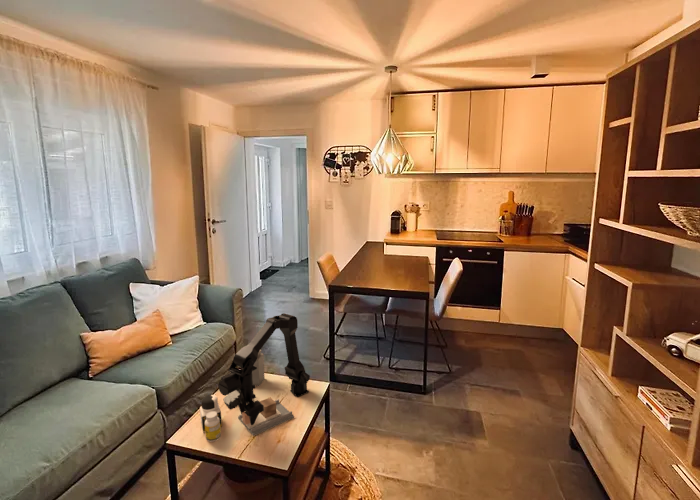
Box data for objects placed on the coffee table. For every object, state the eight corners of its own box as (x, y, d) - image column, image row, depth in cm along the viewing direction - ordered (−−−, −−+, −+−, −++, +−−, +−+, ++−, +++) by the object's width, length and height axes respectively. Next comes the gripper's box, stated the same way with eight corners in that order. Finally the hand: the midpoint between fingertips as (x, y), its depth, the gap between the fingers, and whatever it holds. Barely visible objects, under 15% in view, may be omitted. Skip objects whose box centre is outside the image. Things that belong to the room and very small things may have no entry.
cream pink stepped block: (272, 407, 161) (272, 397, 160) (280, 415, 155) (280, 404, 154) (240, 420, 152) (239, 410, 151) (247, 429, 146) (247, 418, 145)
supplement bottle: (205, 434, 145) (203, 411, 143) (220, 431, 147) (218, 408, 145) (206, 443, 140) (204, 420, 138) (221, 440, 142) (219, 416, 140)
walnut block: (270, 408, 159) (270, 397, 158) (276, 413, 155) (276, 402, 154) (259, 412, 156) (259, 401, 155) (265, 418, 152) (264, 407, 151)
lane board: (277, 402, 166) (277, 397, 165) (293, 417, 155) (293, 412, 155) (238, 418, 155) (238, 413, 154) (253, 436, 144) (252, 431, 144)
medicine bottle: (203, 432, 146) (200, 404, 144) (200, 422, 152) (198, 395, 150) (222, 427, 149) (220, 399, 147) (219, 417, 156) (217, 390, 153)
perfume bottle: (251, 378, 186) (249, 344, 183) (264, 379, 185) (263, 344, 182) (246, 385, 180) (244, 350, 177) (259, 386, 179) (257, 351, 176)
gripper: (216, 380, 149) (218, 416, 152) (235, 401, 134) (237, 440, 137) (242, 371, 156) (244, 405, 158) (263, 390, 141) (265, 427, 144)
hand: (247, 419), depth 149 cm, fingers open, 9 cm apart
